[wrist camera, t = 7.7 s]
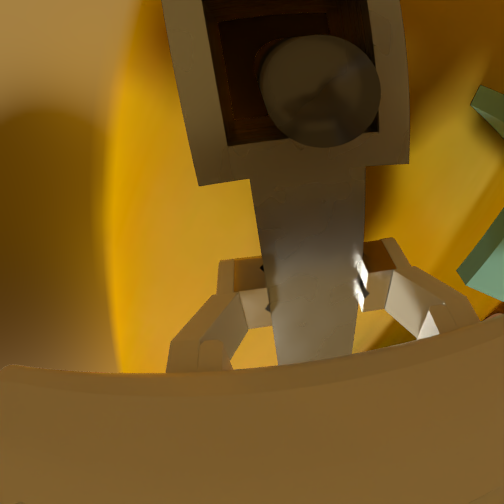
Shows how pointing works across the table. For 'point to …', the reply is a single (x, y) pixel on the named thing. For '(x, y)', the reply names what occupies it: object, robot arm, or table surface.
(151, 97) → the table surface
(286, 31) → the table surface
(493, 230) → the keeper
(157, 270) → the table surface
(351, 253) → the link
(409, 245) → the table surface
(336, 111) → the pintle
